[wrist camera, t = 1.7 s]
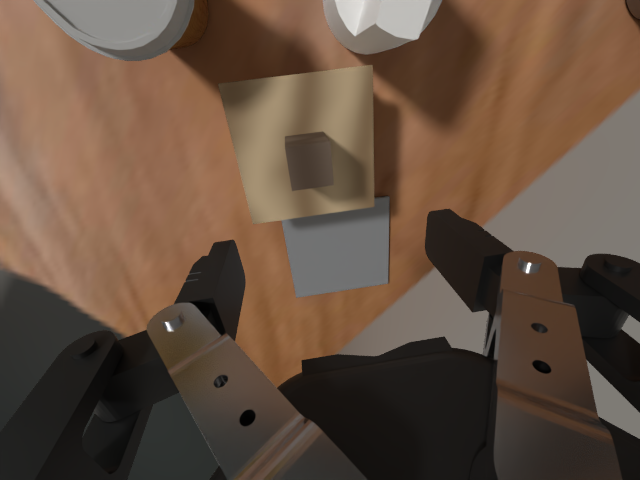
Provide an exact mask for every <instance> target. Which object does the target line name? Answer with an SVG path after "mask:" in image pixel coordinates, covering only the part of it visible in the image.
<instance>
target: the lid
mask: <svg viewBox="0 0 640 480" xmlns="http://www.w3.org/2000/svg"><path fill="white" fill-rule="evenodd" d="M218 86H219V90H220V94H221V98H222V102H223V106H224V110H225V114H226V118H227V122H228V126H229V130H230V134H231V138H232V142H233V146H234V150H235V154H236V158H237V162H238V166H239V170H240V174H241V178H242V182H243V186H244V190H245V194H246V198H247V202H248V206H249V210H250V214H251V218H252V222H253V224H258V223H265V222H272V221H279V220H286V219H293V218H300V217H307V216H314V215H321V214H328V213H335V212H342V211H349V210H356V209H363V208H370V207H374V128H373V65H367V66H359V67H351V68H342V69H334V70H326V71H318V72H310V73H301V74H293V75H285V76H277V77H269V78H260V79H252V80H244V81H236V82H228V83H220V84H218Z"/></svg>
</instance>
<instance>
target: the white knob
mask: <svg viewBox="0 0 640 480" xmlns="http://www.w3.org/2000/svg"><path fill="white" fill-rule="evenodd" d="M441 2H442V0H323V7H324V14H325V17H326V20H327V23H328V26H329V28H330V30H331V31H332V33H333V35H334V36H335V38H336V39H337V40H338V41H339V42H340V43H341V44H342V45H343V46H344V47H345V48H347V49H349V50H351V51H353V52H355V53H360V54H366V55H368V54H374V53H379V52H383V51H386V50H389V49H393V48H396V47H399V46H401V45H403V44H405V43H407V42H410V41H413V40H417V39H418V38H419V35H420V33H421V32H422V31H423V30H425V28H426V27H427V26H428V24H429V23H430V21H431V20H432V19H433V17H434V16H435V14H436V12H437V10H438V8H439V6H440V4H441Z"/></svg>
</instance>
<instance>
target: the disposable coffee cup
mask: <svg viewBox="0 0 640 480" xmlns="http://www.w3.org/2000/svg"><path fill="white" fill-rule="evenodd" d="M34 1H35V3H36V4H37V5H38V6H39V7H40V8H41V9H42V10H43V11H44V12H45V13H46V14H47V15H48V16H49V17H50V18H51V19H52V20H53V21H54V22H55V23H56V24H57V25H58V26H59V27H60V28H61V29H62V30H63V31H65V32H66V33H67V34H68V35H69V36H71V37H72V38H73V39H75V40H76V41H78V42H79V43H80V44H82V45H84V46H86V47H87V48H89V49H91V50H93V51H95V52H97V53H99V54H102V55H104V56H107V57H111V58H114V59H119V60H125V61H141V60H146V59H151V58H154V57H156V56H158V55H161V54H163V53H165V52H167V51H168V50H169V49H175V48H181V47H187V46H190V45H192V44H194V43H196V42H197V41H198V40H199V39H200V38H201V37H202V35H203V34H204V32H205V29H206V27H207V22H208V5H207V0H34Z"/></svg>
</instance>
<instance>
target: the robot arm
mask: <svg viewBox="0 0 640 480" xmlns="http://www.w3.org/2000/svg"><path fill="white" fill-rule="evenodd" d="M626 1H627V5H628V8H629V10H630V12H631V13H632V14H633V16H634V17H636V18H637V19H639V20H640V0H626ZM425 250H426V254H427V257H428V258H429V260H430V261H431V262H432V263H433V265H434V266H435V267H436V268H437V269H438V271H439V272H440V273H441V274H442V276H443V277H444V278H445V279H446V280H447V282H448V283H449V284H450V285H451V287H452V288H453V289H454V290H455V292H456V293H457V294H458V295H459V296H460V298H461V299H462V300H463V301H464V302H465V304H466V305H467V306H468V307H469V309H470V310H471V311H472V312H477V311H483V310H487V311H488V312H489V315H488V320H487V325H486V333H485V341H484V348H483V355H482V354H479V353H475V352H472V351H468V350H464V349H458V348H451V346H450V345H449V343H448V341H447V340H446V338H445V337H439V338H433V339H427V340H421V341H415V342H410V343H407V344H405V345H403V346H400V347H398V348H396V349H393V350H391V351H389V352H386V353H384V354H382V355H379V356H357V355H339V354H337V355H331V356H325V357H319V358H313V359H307V360H302V373H299V374H297V375H295V376H293V377H292V378H290V379H288V380H287V381H285V382H284V383H283V384H281V385H280V386H279V387H278V388H276V387H275V385H274V384H273V383H272V382H271V381H270V380H269V379H268V378H267V377H266V376H265V374H264V373H263V372H262V371H261V370H260V369H259V368H258V367H257V366H256V365H255V363H254V362H253V361H252V360H251V359H250V358H249V357H248V356H247V355H246V354H245V352H244V351H243V350H242V349H241V348H240V347H239V346H238V345H237V344H236V343H235V338H236V333H237V327H238V322H239V317H240V311H241V306H242V301H243V296H244V290H245V274H244V270H243V266H242V263H241V260H240V256H239V253H238V249H237V246H236V243H235V241H234V240H228V241H221V242H215V243H214V244H213V246H212V248H211V250H210V253H209V255H208V256H202V257H201V258H200V259H199V260H198V261H197V262H196V263H195V264H194V265H193V267H192V269H191V271H190V273H189V275H188V277H187V279H186V282H185V283H184V285H183V287H182V289H181V291H180V293H179V295H178V297H177V299H176V301H175V303H174V305H171V306H168V307H166V308H164V309H163V310H161V311H160V312H158V313H157V314H156V315H154V316H153V318H152V319H151V320H150V321H149V323H148V325H147V330H145V331H142V332H140V333H137V334H134V335H132V336H129V337H126V338H124V339H121V340H118V339H117V338H116V336H115V335H114V334H113V333H112V332H111V331H106V330H103V331H97V332H93V333H90V334H88V335H86V336H83V337H82V338H80V339H78V340H76V341H74V342H73V343H71V344H70V345H69V346H67V347H66V348H65V349H64V350H63V351H62V352H61V353H60V354H59V355H58V356H57V358H56V359H55V360H54V362H53V363H52V364H51V366H50V367H49V368H48V370H47V371H46V373H45V374H44V375H43V376H42V378H41V379H40V380H39V382H38V383H37V384H36V386H35V387H34V388H33V390H32V391H31V392H30V393H29V395H28V396H27V397H26V399H25V400H24V401H23V403H22V404H21V405H20V407H19V408H18V409H17V411H16V412H15V413H14V415H13V416H12V417H11V419H10V420H9V421H8V423H7V424H6V425H5V426H4V428H3V429H2V431H1V432H0V480H127V479H128V476H129V473H130V470H131V467H132V464H133V461H134V458H135V456H136V453H137V450H138V447H139V444H140V441H141V438H142V435H143V432H144V430H145V427H146V424H147V421H148V418H149V415H150V412H151V409H152V406H153V404H155V403H157V402H159V401H161V400H163V399H166V398H168V397H170V396H172V395H174V394H177V393H179V392H180V394H181V396H182V398H183V400H184V401H185V403H186V405H187V407H188V409H189V411H190V412H191V414H192V416H193V418H194V420H195V422H196V423H197V425H198V427H199V429H200V430H201V433H202V434H203V436H204V438H205V440H206V442H207V444H208V445H209V447H210V449H211V451H212V453H213V454H214V456H215V458H216V460H217V462H218V464H219V466H218V468H217V469H216V471H215V472H214V473H213V475H212V476H211V478H210V479H209V480H640V439H638V438H637V437H635V436H633V435H631V434H629V433H627V432H626V431H624V430H622V429H620V428H618V427H616V426H615V425H612V424H611V423H609V422H607V421H605V420H604V419H602V418H600V417H598V414H597V409H596V404H595V400H594V395H593V390H592V385H591V380H590V376H589V371H588V366H587V361H589V363H590V364H591V365H592V366H594V368H595V369H596V370H597V371H599V373H600V374H601V375H602V376H604V378H606V379H607V380H608V382H609V383H610V384H612V385H613V386H614V387H615V388H616V389H617V390H618V391H619V392H620V393H621V394H622V395H623V396H624V397H625V398H626V399H627V400H628V401H629V402H630V403H631V404H632V405H633V406H634V407H635V408H636V409H637V410H638V411H639V412H640V344H639V343H638V342H637V341H636V340H634V339H633V338H632V337H630V336H629V335H628V334H627V333H625V332H624V331H623V330H622V329H621V328H622V326H623V324H624V323H625V321H626V319H627V318H628V316H629V315H631V316H632V317H633V318H635V319H636V320H637V321H639V322H640V263H638V262H636V261H633V260H631V259H628V258H625V257H621V256H617V255H611V254H593V255H589V256H588V257H587V258H586V259H585V261H584V264H583V266H582V268H564V267H557V266H556V264H555V263H554V262H553V261H552V260H550V259H549V258H547V257H545V256H542V255H540V254H536V253H533V252H527V251H512V250H511V249H510V248H509V247H507V246H506V245H504V244H503V243H502V242H500V241H499V240H498V239H496V238H495V237H494V236H491V234H489V233H488V232H487V231H484V229H483V228H482V227H480V226H479V225H478V224H476V223H474V222H472V221H469V220H466V219H464V218H461V217H460V216H458V215H457V214H456V213H454V212H453V211H452V210H450V209H443V210H437V211H431V212H429V214H428V217H427V228H426V239H425ZM586 360H587V361H586ZM93 412H94V413H95V414H94V416H93V418H92V420H91V422H90V424H89V426H88V428H87V430H86V432H85V434H84V436H83V432H84V429H85V427H86V425H87V423H88V421H89V419H90V417H91V415H92V413H93ZM82 436H83V438H82Z"/></svg>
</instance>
